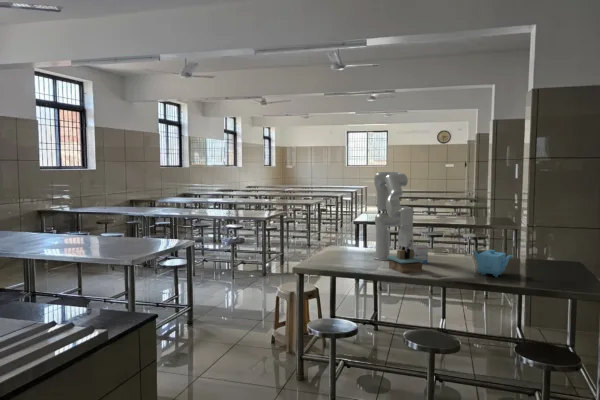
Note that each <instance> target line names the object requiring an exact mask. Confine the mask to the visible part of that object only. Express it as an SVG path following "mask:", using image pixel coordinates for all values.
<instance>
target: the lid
mask: <svg viewBox="0 0 600 400" xmlns="http://www.w3.org/2000/svg"><path fill="white" fill-rule="evenodd" d="M405 252H406V250H401V249H397V250H396V255H390V256H387V258H388V259H391V260H393V261H396V262H399V263H414V262H424V260H423V259H420V258H417V257H414V250H413V249H412V250H411V251H410V258H407V259H405Z"/></svg>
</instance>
